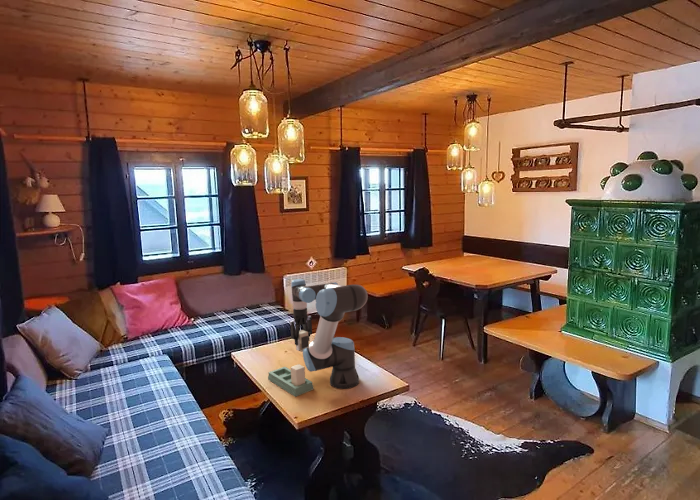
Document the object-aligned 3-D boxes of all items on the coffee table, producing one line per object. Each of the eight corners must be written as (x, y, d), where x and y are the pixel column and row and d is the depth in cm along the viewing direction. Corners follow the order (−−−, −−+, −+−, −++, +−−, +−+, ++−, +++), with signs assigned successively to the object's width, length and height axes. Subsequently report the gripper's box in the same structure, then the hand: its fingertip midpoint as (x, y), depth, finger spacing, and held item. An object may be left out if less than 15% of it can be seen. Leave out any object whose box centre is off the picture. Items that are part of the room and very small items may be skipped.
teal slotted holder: (313, 389, 219) (312, 366, 217) (295, 396, 212) (293, 373, 210) (286, 373, 239) (284, 352, 237) (268, 379, 232) (266, 358, 230)
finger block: (309, 349, 238) (308, 332, 237) (302, 352, 235) (300, 334, 234) (303, 347, 242) (302, 329, 241) (296, 349, 239) (295, 332, 238)
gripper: (309, 303, 244) (312, 342, 247) (281, 310, 233) (284, 351, 236) (317, 305, 238) (320, 346, 242) (289, 312, 227) (292, 355, 230)
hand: (302, 348), depth 239 cm, fingers closed on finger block, 5 cm apart
